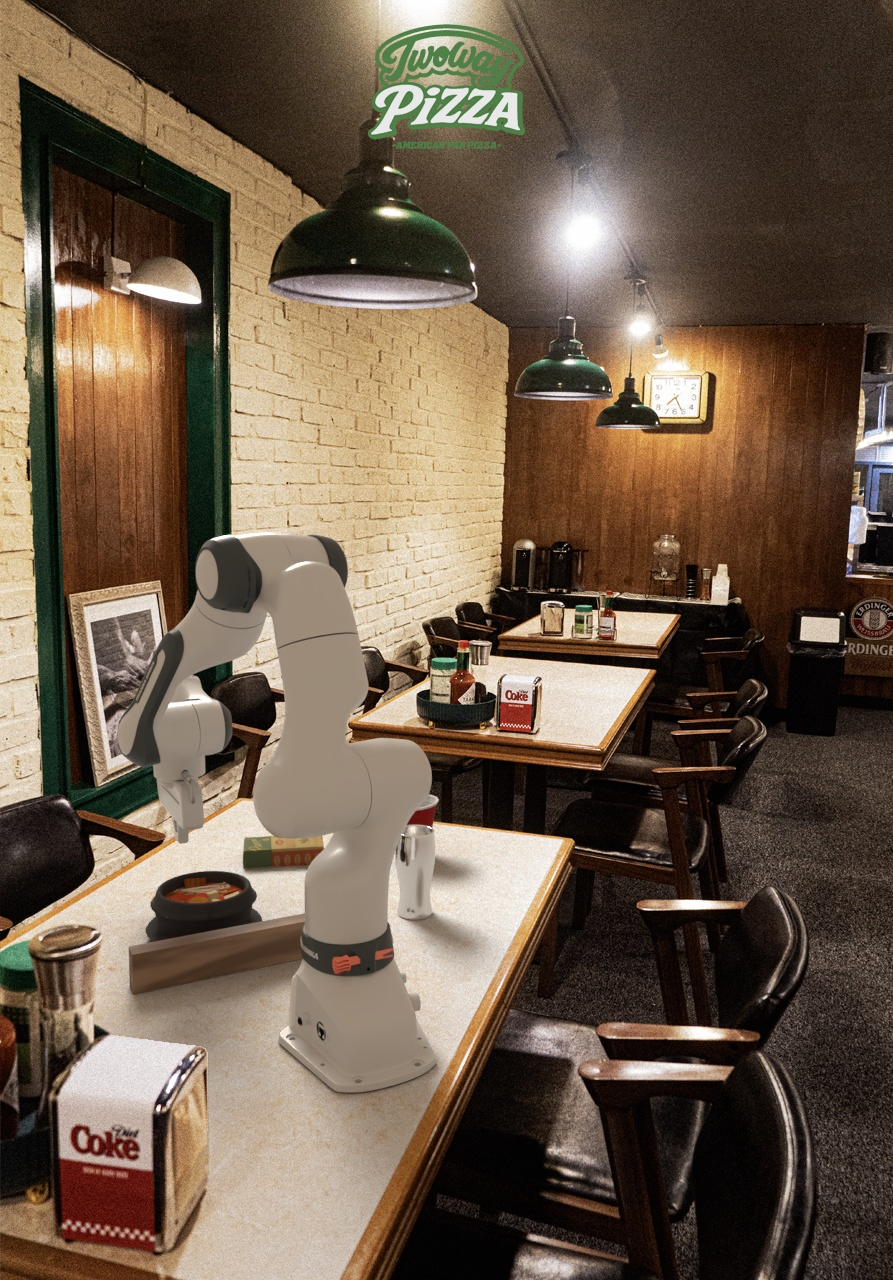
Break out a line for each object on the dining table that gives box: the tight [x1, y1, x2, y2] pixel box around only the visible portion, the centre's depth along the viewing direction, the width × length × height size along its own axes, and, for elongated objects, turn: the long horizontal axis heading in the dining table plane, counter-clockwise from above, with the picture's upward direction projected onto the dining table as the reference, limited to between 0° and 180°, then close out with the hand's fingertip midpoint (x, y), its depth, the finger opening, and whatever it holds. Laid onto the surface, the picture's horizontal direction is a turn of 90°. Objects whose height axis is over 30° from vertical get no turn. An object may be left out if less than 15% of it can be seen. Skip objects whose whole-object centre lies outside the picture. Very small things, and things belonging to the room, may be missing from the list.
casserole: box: [145, 870, 263, 942], centre depth 157 cm, size 25×19×8 cm
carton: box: [242, 835, 325, 869], centre depth 193 cm, size 8×16×4 cm, turn 100°
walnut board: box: [128, 912, 305, 995], centre depth 145 cm, size 3×28×6 cm, turn 118°
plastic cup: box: [407, 794, 440, 828], centre depth 195 cm, size 11×11×12 cm
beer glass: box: [394, 825, 436, 921], centre depth 167 cm, size 7×7×15 cm
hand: (181, 841), depth 171 cm, fingers closed
